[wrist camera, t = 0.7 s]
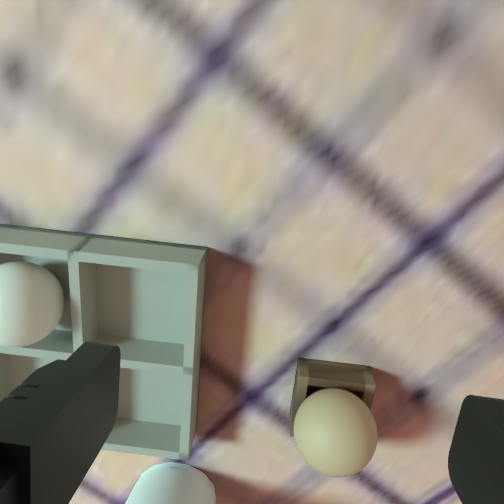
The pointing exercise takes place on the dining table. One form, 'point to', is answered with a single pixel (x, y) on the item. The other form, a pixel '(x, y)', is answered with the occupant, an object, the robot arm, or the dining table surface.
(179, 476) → the foam cup
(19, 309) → the cream egg
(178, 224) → the dining table surface
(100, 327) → the egg carton
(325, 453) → the beige sphere
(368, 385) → the egg stand
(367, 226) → the dining table surface
